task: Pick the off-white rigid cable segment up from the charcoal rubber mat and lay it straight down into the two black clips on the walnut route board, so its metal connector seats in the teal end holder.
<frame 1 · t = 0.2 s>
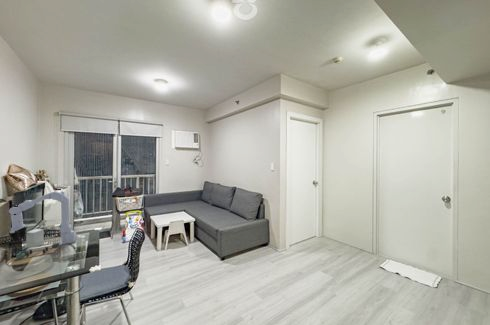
hand: (19, 239, 155), 10 cm above the table, fingers open, 7 cm apart
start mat: (43, 249, 157), on the table
supplement box: (35, 246, 165), on the table
route board: (37, 254, 150), on the table
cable: (43, 247, 157), on the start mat
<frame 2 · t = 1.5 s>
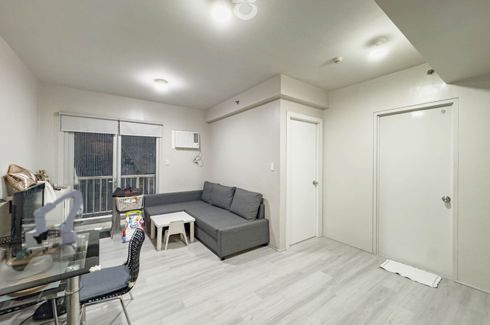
hand: (42, 242, 157), 6 cm above the table, fingers open, 7 cm apart
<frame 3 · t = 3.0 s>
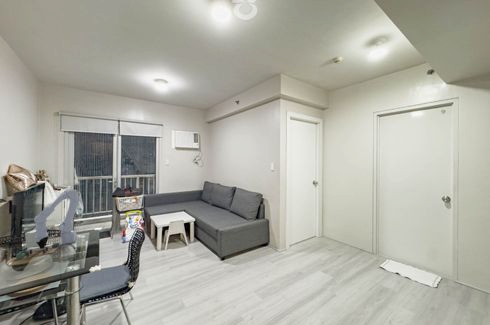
hand: (43, 247, 157), 2 cm above the table, fingers closed on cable, 2 cm apart
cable: (43, 247, 157), on the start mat, touching gripper
everything else where it was.
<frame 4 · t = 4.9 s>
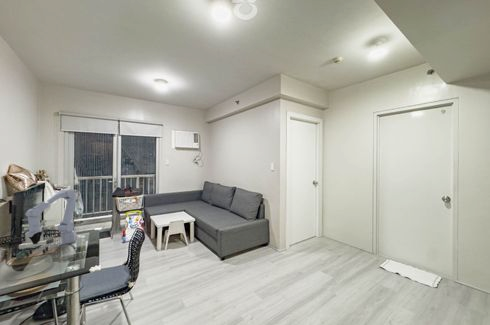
hand: (36, 243, 149), 9 cm above the table, fingers closed on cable, 2 cm apart
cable: (36, 243, 149), point 8 cm above the table, touching gripper
everything else where it was.
when the fingers open (3 cm above the table, at t = 6.6 s): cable stays where it is, resting on route board.
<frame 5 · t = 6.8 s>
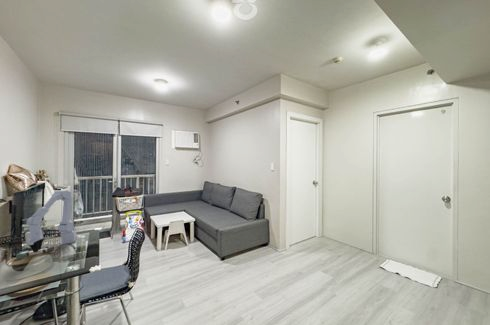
hand: (37, 250, 149), 3 cm above the table, fingers open, 4 cm apart
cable: (37, 251, 149), point 2 cm above the table, touching route board
everything else where it was.
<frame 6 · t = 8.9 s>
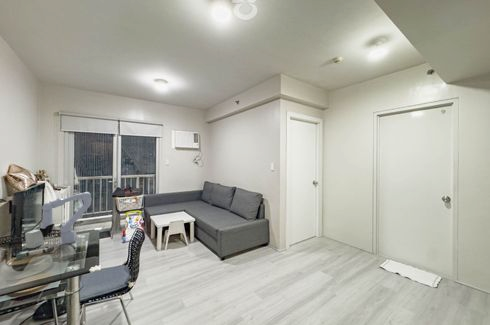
hand: (47, 234, 162), 10 cm above the table, fingers open, 7 cm apart
nothing on the table moved.
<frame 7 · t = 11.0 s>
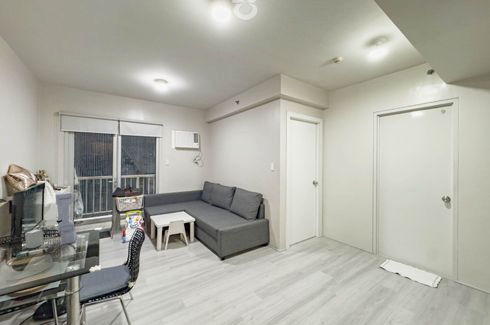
hand: (63, 226, 179), 10 cm above the table, fingers open, 7 cm apart
nothing on the table moved.
at the end: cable 0.1 cm off-centre on the route board, point 2.1 cm above the route board's base; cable tilted 0°; the gripper is holding nothing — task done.
